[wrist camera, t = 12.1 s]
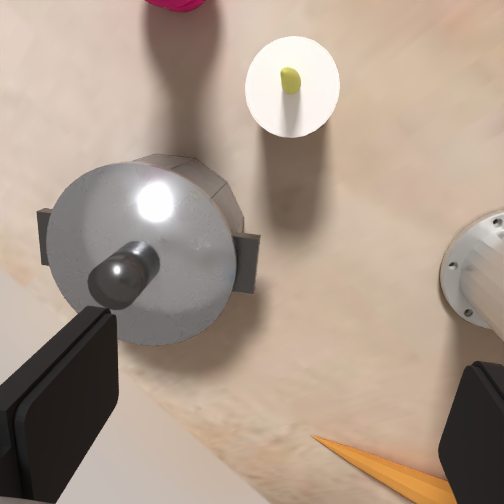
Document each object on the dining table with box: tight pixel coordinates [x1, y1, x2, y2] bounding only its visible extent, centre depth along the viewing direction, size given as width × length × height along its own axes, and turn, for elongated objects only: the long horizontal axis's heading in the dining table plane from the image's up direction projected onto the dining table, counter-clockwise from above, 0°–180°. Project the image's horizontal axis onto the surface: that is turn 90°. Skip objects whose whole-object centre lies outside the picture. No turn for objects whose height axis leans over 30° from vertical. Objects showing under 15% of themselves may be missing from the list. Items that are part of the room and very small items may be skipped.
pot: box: [37, 154, 261, 294], centre depth 38 cm, size 19×15×9 cm
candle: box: [245, 36, 340, 138], centre depth 29 cm, size 6×6×15 cm
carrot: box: [310, 435, 457, 504], centre depth 48 cm, size 20×4×4 cm, turn 69°
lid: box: [46, 162, 237, 346], centre depth 31 cm, size 16×16×8 cm
